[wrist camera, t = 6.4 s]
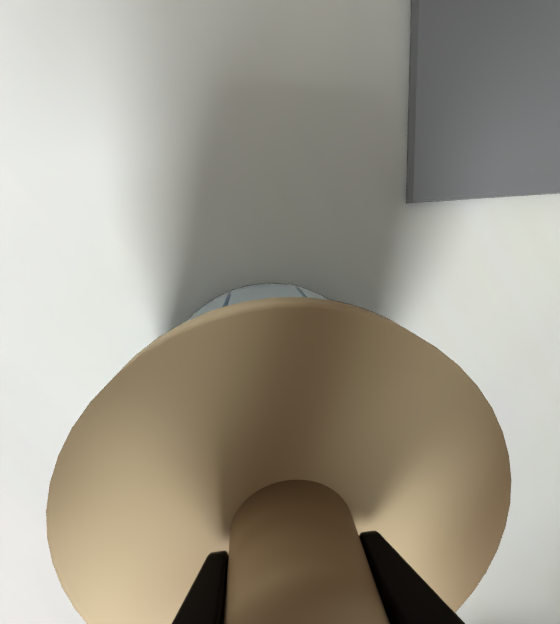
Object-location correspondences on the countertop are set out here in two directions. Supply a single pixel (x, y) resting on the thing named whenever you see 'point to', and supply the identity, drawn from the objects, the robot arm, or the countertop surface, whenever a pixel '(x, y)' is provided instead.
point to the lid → (277, 469)
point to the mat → (483, 99)
